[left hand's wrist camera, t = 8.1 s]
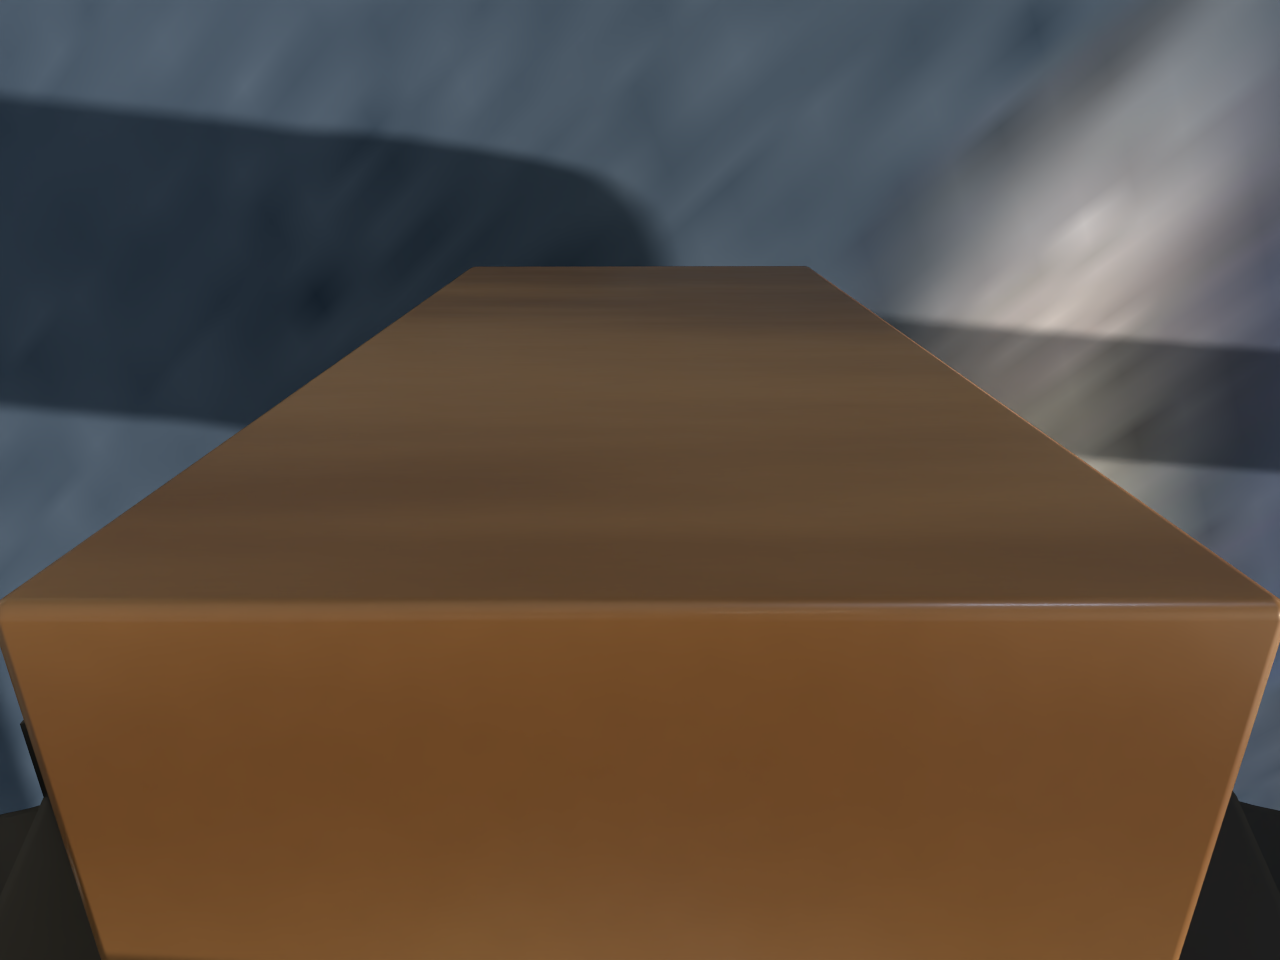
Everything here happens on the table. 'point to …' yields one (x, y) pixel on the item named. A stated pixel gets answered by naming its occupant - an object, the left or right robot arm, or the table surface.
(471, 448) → the box
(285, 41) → the table surface
